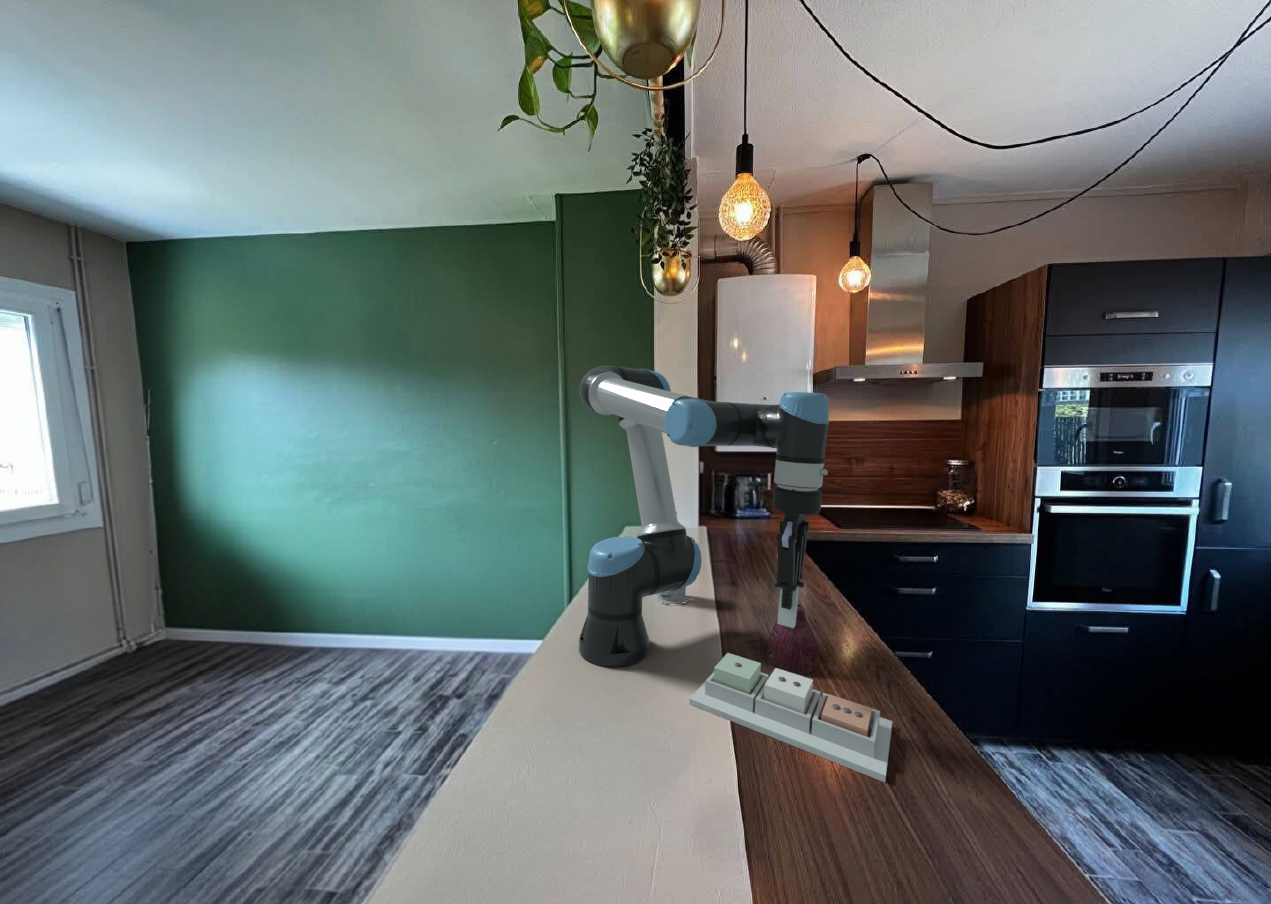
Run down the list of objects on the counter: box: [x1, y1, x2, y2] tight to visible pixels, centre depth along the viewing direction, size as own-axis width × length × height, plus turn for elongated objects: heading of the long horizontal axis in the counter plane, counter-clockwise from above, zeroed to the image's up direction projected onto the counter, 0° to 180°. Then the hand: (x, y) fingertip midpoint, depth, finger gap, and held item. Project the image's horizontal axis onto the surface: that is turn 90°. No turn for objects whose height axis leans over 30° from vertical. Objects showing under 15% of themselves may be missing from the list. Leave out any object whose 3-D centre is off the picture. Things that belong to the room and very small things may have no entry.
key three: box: [821, 693, 873, 737], centre depth 71 cm, size 6×6×3 cm
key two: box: [764, 667, 814, 714], centre depth 76 cm, size 6×6×3 cm
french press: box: [654, 511, 688, 604], centre depth 125 cm, size 10×12×25 cm
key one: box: [713, 652, 762, 695], centre depth 81 cm, size 6×6×3 cm
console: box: [688, 671, 893, 783], centre depth 76 cm, size 30×14×4 cm, turn 57°
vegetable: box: [766, 602, 819, 675], centre depth 92 cm, size 10×10×15 cm
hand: (786, 624), depth 76 cm, fingers closed
